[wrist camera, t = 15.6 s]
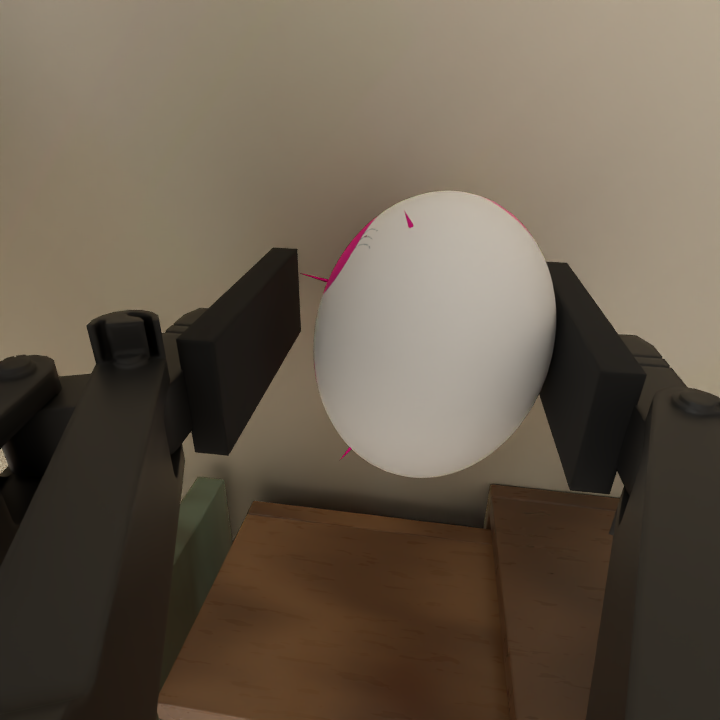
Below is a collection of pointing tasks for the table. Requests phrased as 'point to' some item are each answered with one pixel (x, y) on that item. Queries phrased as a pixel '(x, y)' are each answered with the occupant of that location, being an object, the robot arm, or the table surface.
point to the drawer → (329, 617)
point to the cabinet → (549, 594)
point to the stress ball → (434, 334)
